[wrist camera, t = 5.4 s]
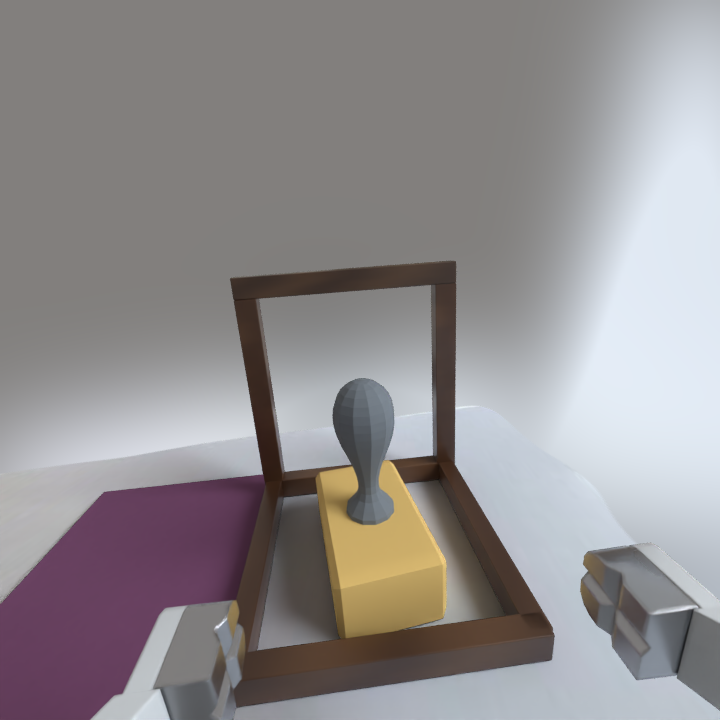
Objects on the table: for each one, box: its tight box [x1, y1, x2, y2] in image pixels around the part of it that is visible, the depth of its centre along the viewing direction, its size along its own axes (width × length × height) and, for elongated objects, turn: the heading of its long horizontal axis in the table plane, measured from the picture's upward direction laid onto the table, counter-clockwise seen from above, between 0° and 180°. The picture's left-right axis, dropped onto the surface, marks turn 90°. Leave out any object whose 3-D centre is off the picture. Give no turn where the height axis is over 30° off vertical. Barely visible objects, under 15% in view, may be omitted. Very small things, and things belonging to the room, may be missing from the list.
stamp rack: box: [230, 261, 555, 707], centre depth 21 cm, size 16×15×18 cm
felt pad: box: [0, 475, 265, 720], centre depth 22 cm, size 14×20×1 cm
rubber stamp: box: [316, 378, 446, 639], centre depth 22 cm, size 10×6×12 cm, turn 12°
